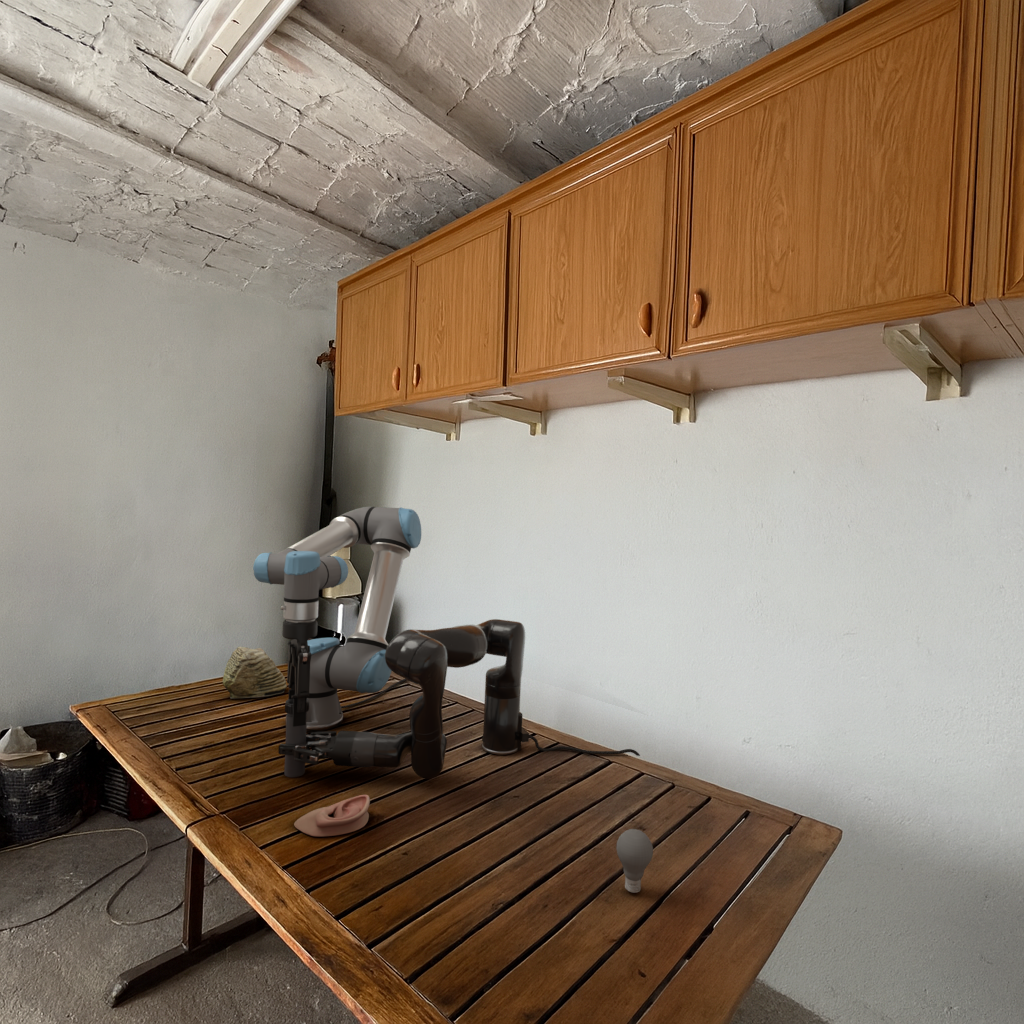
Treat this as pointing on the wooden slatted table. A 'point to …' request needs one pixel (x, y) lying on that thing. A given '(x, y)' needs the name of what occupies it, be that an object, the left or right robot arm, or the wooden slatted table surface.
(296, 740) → the dark grey cylinder
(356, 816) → the anatomical model
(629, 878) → the light bulb
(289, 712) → the lid
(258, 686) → the fossil
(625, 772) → the wooden slatted table surface
